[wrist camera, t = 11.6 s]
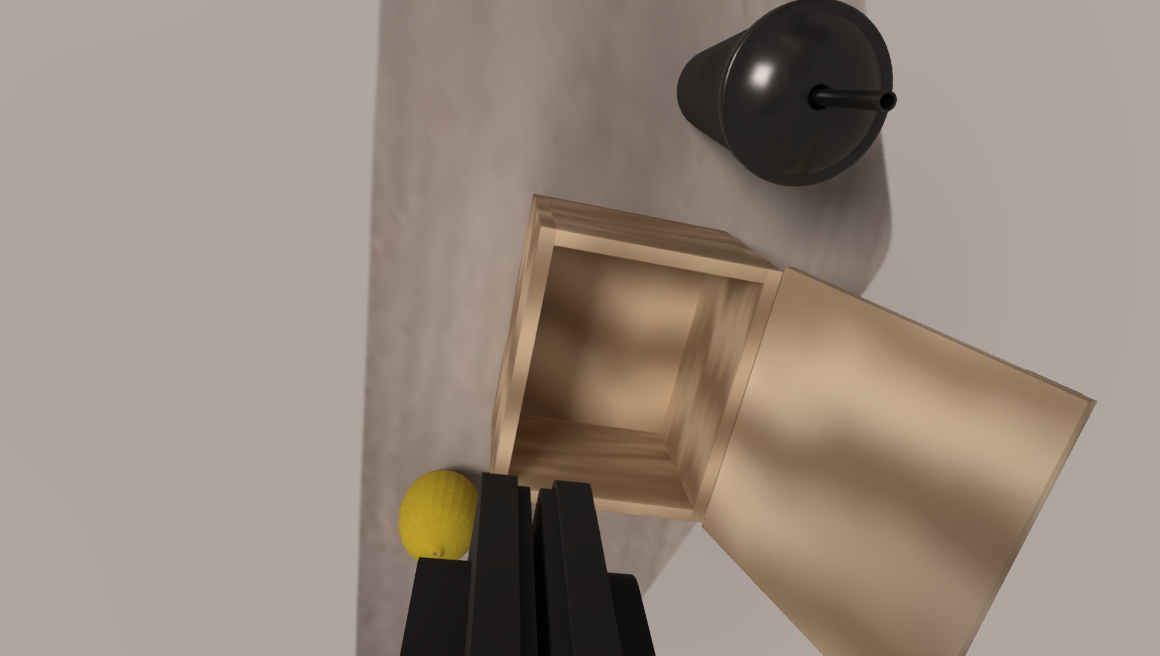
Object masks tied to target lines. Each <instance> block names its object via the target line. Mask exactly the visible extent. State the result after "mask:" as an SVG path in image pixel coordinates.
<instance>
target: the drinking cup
mask: <svg viewBox="0 0 1160 656" xmlns="http://www.w3.org/2000/svg"><path fill="white" fill-rule="evenodd" d="M892 89H893V74H892V65H891V59H890V55H889V52H888V49H887V46H886V44H885V42H884V40H883V38H882V36H881V34H880V33H879V31H878V29H877V28H876V27H875V25H874V24H873V23H872V22H871V21H870V20H869V19H868V18H867V17H866V16H865V15H864V14H863V13H861V12H860V11H859V10H857V9H856V8H854V7H852V6H850V5H848V4H846V3H844V2H841V1H837V0H796V1H793V2H789V3H787V4H784V5H781V6H779V7H777V8H775V9H773V10H771V11H770V12H768V13H767V14H765V15H764V16H762V17H761V18H760V19H758V20H757V21H756V22H755V23H754V24H753V25H752V26H751V27H749V29H747V30H745V31H743V32H741V33H739V34H737V35H735V36H733V37H731V38H729V39H727V40H725V41H723V42H721V43H719V44H717V45H715V46H713V47H711V48H709V49H707V50H705V51H703V52H701V53H699V54H697V55H696V56H694V57H693V58H692V59H691V60H690V61H689V62H688V63H687V65H686V66H685V67H684V69H683V71H682V73H681V75H680V78H679V81H678V86H677V99H678V104H679V107H680V109H681V112H682V113H683V115H684V116H685V118H686V119H687V120H688V121H689V122H690V123H691V124H693V125H694V126H695V127H697V128H698V129H700V130H701V131H703V132H704V133H705V134H707V135H708V136H710V137H711V138H713V139H714V140H716V141H717V142H718V143H720V144H721V145H723V146H724V147H726V148H727V149H729V150H730V151H731V152H732V153H733V155H734V156H735V157H736V159H737V160H738V161H739V162H740V163H741V164H742V165H743V166H744V167H745V168H746V169H748V170H749V171H750V172H751V173H753V174H755V175H756V176H758V177H760V178H762V179H764V180H766V181H769V182H772V183H775V184H779V185H784V186H807V185H813V184H816V183H820V182H823V181H826V180H828V179H831V178H833V177H835V176H837V175H838V174H840V173H842V172H843V171H845V170H846V169H847V168H849V167H850V166H852V165H853V164H854V163H855V162H856V161H857V160H858V159H859V158H860V157H861V156H862V155H863V154H864V153H865V152H866V151H867V150H868V148H869V147H870V146H871V145H872V143H873V142H874V140H875V139H876V137H877V135H878V134H879V132H880V130H881V128H882V126H883V124H884V121H885V119H886V116H887V113H888V111H890V110H892V109H893V108H894V107H895V105H896V102H897V98H896V95H895V93H894V92H892Z"/></svg>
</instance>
